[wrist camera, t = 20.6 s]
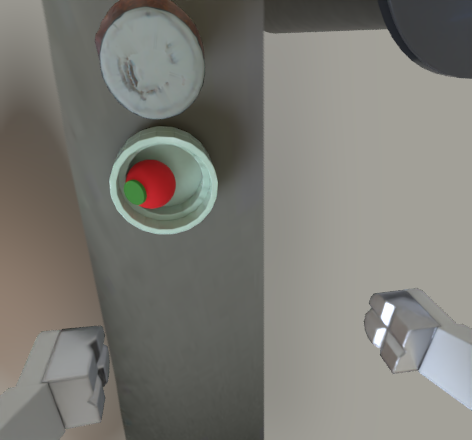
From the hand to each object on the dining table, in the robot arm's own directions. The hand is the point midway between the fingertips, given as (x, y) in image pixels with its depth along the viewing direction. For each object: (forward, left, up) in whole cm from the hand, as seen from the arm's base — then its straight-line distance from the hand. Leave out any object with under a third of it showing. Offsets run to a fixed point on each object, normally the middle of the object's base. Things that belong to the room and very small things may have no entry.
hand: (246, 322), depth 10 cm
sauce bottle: (-1, -7, -27) cm, 28 cm away
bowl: (+5, +3, -27) cm, 28 cm away
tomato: (+5, +3, -26) cm, 27 cm away
